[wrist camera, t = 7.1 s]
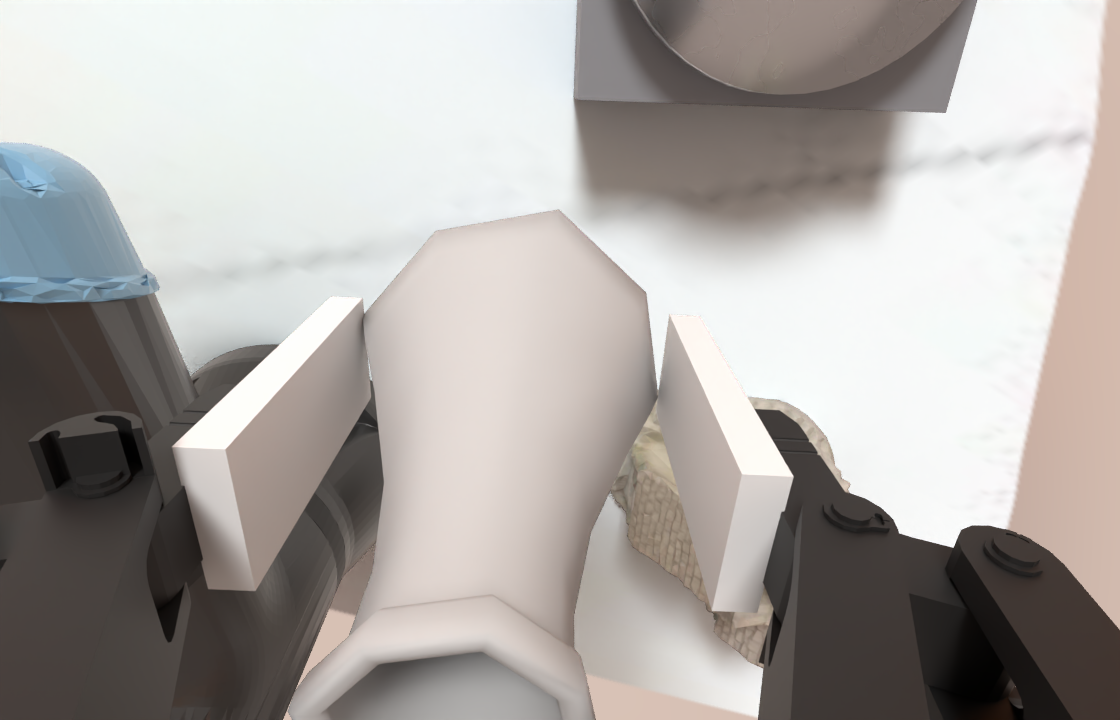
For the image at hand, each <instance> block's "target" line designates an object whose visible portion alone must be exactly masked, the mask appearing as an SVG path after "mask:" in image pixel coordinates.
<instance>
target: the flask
mask: <svg viewBox="0 0 1120 720" xmlns="http://www.w3.org/2000/svg"><path fill="white" fill-rule="evenodd" d="M363 326H364V335H365V341H366V347H367V352H368V358H369V363H370V369H371V375H372V380H373V386H374V392H375V401H376V411H377V420H378V430H379V439H380V449H381V458H382V468H383V477H384V487H383V495H382V502H381V510H380V517H379V525H378V533H377V540H376V548H375V556H374V563H373V570H372V573H371V576H370V578H369V581H368V584H367V587H366V590H365V592H364V595H363V598H362V601H361V603H360V606H359V609H358V612H357V614H356V617H355V620H354V623H353V626H352V629H351V631H350V634H349V636H348V638H347V639H345V640H344V641H343V642H342V643H341V644H340V645H339V646H337V648H335V649H334V650H333V651H332V652H331V653H330V654H328V655H327V656H326V657H325V658H324V659H323V660H322V661H321V662H320V663H318V664H317V665H316V666H315V667H314V668H313V669H312V670H311V671H309V673H308V674H307V675H306V677H305V678H304V680H303V681H302V682H301V684H300V685H299V686H298V688H297V689H296V690H295V692H294V695H293V698H292V701H291V704H290V706H289V709H288V713H289V715H290V717H291V718H292V720H596V719H595V714H594V710H593V705H592V701H591V696H590V692H589V687H588V683H587V678H586V674H585V671H584V667H583V664H582V660H581V657H580V655H579V654H578V653H577V652H576V650H575V649H574V613H575V608H576V603H577V598H578V593H579V588H580V583H581V578H582V573H583V568H584V564H585V559H586V554H587V549H588V544H589V539H590V534H591V531H592V529H593V527H594V525H595V522H596V520H597V518H598V516H599V514H600V512H601V510H602V507H603V505H604V503H605V501H606V499H607V497H608V495H609V492H610V490H611V488H612V486H613V484H614V482H615V480H616V477H617V475H618V473H619V471H620V469H621V467H622V465H623V462H624V460H625V458H626V456H627V454H628V453H629V451H630V449H631V447H632V445H633V444H634V442H635V440H636V438H637V437H638V435H639V433H640V431H641V429H642V428H643V426H644V424H645V422H646V420H647V419H648V417H649V415H650V413H651V411H652V409H653V407H654V405H655V403H656V401H657V399H658V390H657V381H656V373H655V364H654V355H653V347H652V338H651V330H650V321H649V313H648V304H647V296H646V292H645V291H644V290H643V289H642V288H641V287H640V286H639V285H637V284H636V283H635V282H634V281H633V280H632V279H631V278H630V277H629V276H628V275H627V274H626V273H625V272H624V271H623V270H622V269H621V268H620V267H619V266H618V265H617V264H616V263H614V262H613V261H612V260H611V259H610V258H609V257H608V256H607V255H606V254H605V253H604V252H603V251H602V250H601V249H600V248H599V247H598V246H597V245H596V244H595V243H594V242H593V241H591V240H590V239H589V238H588V237H587V236H586V235H585V234H584V233H583V232H582V231H581V230H580V229H579V228H578V227H577V226H576V225H575V224H574V223H573V222H572V221H571V220H570V219H568V218H567V217H566V216H565V215H564V214H563V213H562V212H561V211H560V210H553V211H548V212H542V213H536V214H530V215H524V216H519V217H513V218H507V219H501V220H496V221H490V222H484V223H478V224H473V225H467V226H461V227H455V228H450V229H444V230H438V231H435V232H434V233H433V235H432V236H431V237H430V238H429V239H428V240H427V242H426V243H425V244H424V245H423V246H422V247H421V249H420V250H419V251H418V252H417V253H416V254H415V256H414V257H413V258H412V259H411V260H410V261H409V263H408V264H407V265H406V266H405V267H404V268H403V270H402V271H401V272H400V273H399V274H398V275H397V276H396V278H395V279H394V280H393V281H392V282H391V283H390V285H389V286H388V287H387V288H386V289H385V290H384V292H383V293H382V294H381V295H380V296H379V297H378V299H377V300H376V301H375V302H374V303H373V304H372V306H371V307H370V308H369V309H368V310H367V311H366V313H365V314H364V317H363Z"/></svg>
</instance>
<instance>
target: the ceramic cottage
mask: <svg viewBox="0 0 1120 720" xmlns="http://www.w3.org/2000/svg"><path fill="white" fill-rule="evenodd" d="M658 392H659V390H658ZM748 399H749V401H750V403H751V404H752V406H753V408H754V409H766V410H780V411H781V412H783V413H784V414H786V415H787V416H788V417H790V418H791V419H793V420H794V421H795V422H797V423H798V424H799V425H800V427H801V428H802V430H803V431H804V432H805V434H806V435H807V437H808V438H809V442H811V443H812V444H813V446H814V447H815V448H816V450H817V451H818V455H820V456H821V457H822V459H823V460H824V462H825V463H826V465H827V466H828V467H829V469H830V470H831V472H832V473H833V475H834V476H835V478H836V479H837V481H838V482H839V484H840V485H841V486H842V488H843V489H844V491H845V492H847V493H849V491H848V488H849V487H850V483H849V482H847V481H845V480H844V479H842V477H841V471H840V470H839V469H837V468H836V466H835V462H834V456H833V452H832V449H831V447H830V444H829V442H828V440H827V437H826V436H825V435H824V433H823V432H822V431H821V430H820V428H819V427H818V426H817V425H816V424H815V423H814V421H813V420H811V419H810V418H809V417H808V416H807V415H806V414H804V413H803V412H802V411H800V410H799V409H798V408H796V407H794V406H792V405H790V404H788V403H785V402H781V401H780V400H774V399H763V398H755V397H748ZM656 406H657V401H656V403H655V405H654V407H653V409H652V411H651V413H650V415H649V417H648V419H647V420H646V422H645V424H644V426H643V428H642V429H641V431H640V433H639V435H638V437H637V438H636V440H635V442H634V444H633V445H632V447H631V449H630V451H629V453H628V454H627V456H626V458H625V460H624V462H623V465H622V467H621V469H620V471H619V473H618V475H617V477H616V480H615V482H614V484H613V486H612V488H611V492H612V494H613V496H614V498H615V499H616V501H617V502H618V503H619V504H621V506H622V507H623V509H624V511H626V523H627V524H628V525H629V529H628V535H627V536H628V538H629V540H630V542H631V544H632V546H633V548H635V549H636V550H638V551H639V552H640V553H643V554H645V555H646V556H648V557H649V558H650V559H652V560H653V561H655V562H656V563H658V564H660V565H661V566H662V567H663V568H664V569H665V570H666V571H668V572H669V573H670V574H672V575H674V576H676V577H678V578H679V579H680V580H681V581H682V582H683V585H684V586H685V587H687V588H688V589H690V590H691V591H692V592H693V593H694V594H695V595H696V597H697V598H698V599H699V600H701V601H703V602H705V605H706V609H707V610H708V611H709V612H712V613H713V614H714V619H715V620H716V622H715V625H714V632H715V633H716V634H717V635H718V636H719V637H720V638H721V639H722V640H723V641H725V642H726V643H727V644H729V645H730V646H731V647H732V648H734V649H735V650H736V651H738V652H739V653H740V654H741V655H742V656H743V657H745V659H746V660H747V661H748V662H750V663H752V664H755V665H757V666H759V667H761V668H764V664H761V663H759V659H760V655H761V651H762V648H763V644H764V641H765V637H766V634H767V630H768V627H769V623H770V619H771V616H772V612H773V606H772V604H771V601H770V599H769V596H768V594H767V591H766V589H765V586H764V590H763V594H762V597H761V601H760V605H759V609H758V612H757V613H748V612H725V611H712V610H711V607H710V603H709V599H708V596H707V592H706V589H705V585H704V582H703V578H702V574H701V571H700V567H699V564H698V560H697V557H696V553H695V550H694V546H693V542H692V539H691V535H690V532H689V528H688V525H687V521H686V517H685V514H684V510H683V507H682V503H681V500H680V496H679V493H678V489H677V485H676V482H675V478H674V475H673V471H672V468H671V464H670V460H669V457H668V453H667V450H666V446H665V443H664V439H663V436H662V432H661V428H660V425H659V421H658V418H657V414H656Z"/></svg>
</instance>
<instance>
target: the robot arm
mask: <svg viewBox="0 0 1120 720" xmlns="http://www.w3.org/2000/svg"><path fill="white" fill-rule="evenodd" d="M159 288H160V287H159V285H158V282H157V280H156V277H155V275H153V274H152V273H151V272H149V271H148V270H147V269H145V268H144V267H143V265H142V263H141V261H140V259H139V257H138V255H137V253H136V251H135V249H134V247H133V245H132V243H131V241H130V239H129V237H128V235H127V233H126V231H125V229H124V227H123V225H122V223H121V221H120V219H119V217H118V215H117V213H116V211H115V209H114V207H113V205H112V203H111V201H110V199H109V196H108V194H107V192H106V191H105V189H104V188H103V186H102V185H101V184H100V182H99V181H98V180H97V179H96V178H95V176H94V175H93V174H92V173H91V172H90V171H88V170H87V169H86V168H85V167H83V166H82V165H81V164H79V163H78V162H76V161H74V160H73V159H71V158H69V157H68V156H66V155H64V154H61V153H59V152H57V151H54V150H52V149H49V148H45V147H42V146H38V145H33V144H26V143H9V142H0V720H283V718H284V716H285V713H286V711H287V709H288V706H289V704H290V701H291V699H292V697H293V694H294V692H295V689H296V687H297V685H298V682H299V680H300V677H301V675H302V673H303V670H304V668H305V665H306V663H307V661H308V658H309V656H310V653H311V651H312V648H313V646H314V644H315V641H316V639H317V636H318V634H319V632H320V629H321V627H322V624H323V622H324V619H325V617H326V615H327V612H328V610H329V608H330V605H331V603H332V600H333V598H334V595H335V593H336V590H337V588H338V586H339V583H340V581H341V579H342V577H343V576H344V575H345V574H346V573H347V572H348V571H349V570H350V569H351V568H352V567H353V566H354V565H355V564H356V563H357V562H358V561H359V560H360V559H361V557H362V556H363V555H364V554H365V553H366V552H367V551H368V550H369V549H370V548H371V547H372V546H373V544H375V543H376V540H377V533H378V525H379V517H380V510H381V502H382V495H383V487H384V477H383V468H382V458H381V449H380V439H379V430H378V420H377V411H376V401H375V392H374V386H373V382H372V381H371V380H370V377H369V366H368V354H367V347H366V341H365V335H364V326H363V317H364V309H363V298H352V297H333V296H331V297H330V298H329V299H328V300H327V301H326V302H325V303H323V304H322V305H321V306H320V307H319V308H318V309H317V310H316V311H315V312H314V313H313V314H312V315H311V316H310V317H309V318H308V319H307V320H305V321H304V322H303V323H302V324H301V325H300V326H299V327H298V328H297V329H296V330H295V331H294V332H293V333H292V334H291V335H290V336H289V337H287V338H286V339H285V340H284V341H283V342H282V343H281V344H280V345H256V346H250V347H245V348H240V349H237V350H233V351H230V352H228V353H225V354H223V355H221V356H219V357H217V358H215V359H213V360H211V361H210V362H208V363H207V364H205V365H204V366H203V367H201V368H200V369H199V370H198V371H196V372H195V373H194V374H193V375H192V376H190V374H189V372H188V370H187V367H186V365H185V363H184V361H183V358H182V356H181V354H180V351H179V349H178V347H177V344H176V342H175V340H174V337H173V335H172V333H171V330H170V328H169V326H168V323H167V321H166V319H165V316H164V314H163V312H162V309H161V307H160V305H159V302H158V300H157V298H156V295H155V293H154V292H156V291H157V290H159ZM656 414H657V418H658V421H659V425H660V428H661V432H662V436H663V439H664V443H665V446H666V450H667V453H668V457H669V460H670V464H671V468H672V471H673V475H674V478H675V482H676V485H677V489H678V493H679V496H680V500H681V503H682V507H683V510H684V514H685V517H686V521H687V525H688V528H689V532H690V535H691V539H692V542H693V546H694V550H695V553H696V557H697V560H698V564H699V567H700V571H701V574H702V578H703V582H704V585H705V589H706V592H707V596H708V599H709V603H710V607H711V610H712V611H725V612H748V613H757V612H758V609H759V605H760V601H761V597H762V594H763V590H764V586H765V589H766V591H767V594H768V596H769V599H770V601H771V604H772V606H773V612H772V616H771V619H770V623H769V627H768V630H767V634H766V637H765V641H764V644H763V648H762V651H761V655H760V659H759V663H761V664H764V669H763V678H762V687H761V696H760V706H759V715H758V720H1120V630H1119V629H1118V627H1117V626H1116V625H1115V624H1114V623H1113V622H1112V620H1111V619H1110V618H1109V617H1108V616H1107V615H1106V613H1105V612H1104V611H1103V610H1102V609H1101V607H1100V606H1099V605H1098V604H1097V603H1096V602H1095V601H1094V599H1093V598H1092V597H1091V596H1090V595H1089V593H1088V592H1087V591H1086V590H1085V589H1084V587H1083V586H1082V585H1081V584H1080V583H1079V582H1078V580H1077V579H1076V578H1075V577H1074V576H1073V575H1072V573H1071V572H1070V571H1069V570H1068V569H1067V567H1065V565H1064V564H1063V563H1061V561H1060V560H1059V559H1057V558H1056V557H1055V556H1054V555H1053V554H1052V553H1051V552H1050V551H1048V550H1047V549H1045V548H1044V547H1042V546H1040V545H1039V544H1037V543H1035V542H1034V541H1032V540H1031V539H1029V538H1027V537H1025V536H1023V535H1019V534H1017V533H1016V532H1013V531H1010V530H1006V529H1001V528H996V527H992V526H970V527H967V528H965V529H963V530H961V532H960V534H959V536H958V539H957V541H956V543H955V546H954V548H951V547H948V546H944V545H940V544H936V543H932V542H928V541H924V540H920V539H916V538H912V537H909V536H905V535H902V534H899V532H898V529H897V527H896V525H895V523H894V520H893V519H892V518H891V517H890V516H889V515H888V514H887V513H886V512H885V511H884V510H883V509H882V508H880V507H879V506H877V505H875V504H873V503H872V502H870V501H868V500H867V499H865V498H862V497H859V496H856V495H853V494H851V493H847V492H845V491H844V489H843V488H842V486H841V485H840V484H839V482H838V481H837V479H836V478H835V476H834V475H833V473H832V472H831V470H830V469H829V467H828V466H827V465H826V463H825V462H824V460H823V459H822V457H821V456H820V455H818V451H817V450H816V448H815V447H814V446H813V444H812V443H811V442H809V438H808V437H807V435H806V434H805V432H804V431H803V430H802V428H801V427H800V425H799V424H798V423H797V422H795V421H794V420H793V419H791V418H790V417H788V416H787V415H786V414H784V413H783V412H781V411H780V410H766V409H754V408H753V406H752V404H751V403H750V401H749V399H748V397H747V396H746V394H745V392H744V391H743V389H742V387H741V385H740V384H739V382H738V380H737V378H736V377H735V375H734V373H733V372H732V370H731V368H730V366H729V365H728V363H727V361H726V360H725V358H724V356H723V354H722V353H721V351H720V349H719V348H718V346H717V344H716V342H715V341H714V339H713V337H712V335H711V334H710V332H709V330H708V329H707V327H706V325H705V323H704V322H703V320H702V318H701V317H700V316H689V315H670V314H669V321H668V328H667V335H666V342H665V349H664V357H663V364H662V371H661V378H660V385H659V392H658V399H657V406H656ZM1015 686H1016V687H1015Z"/></svg>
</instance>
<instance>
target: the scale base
mask: <svg viewBox="0 0 1120 720" xmlns="http://www.w3.org/2000/svg"><path fill="white" fill-rule="evenodd" d="M976 3H977V0H963V1H962V2H961V3H960V4H959V6H958V7H957V8H956V9H955V10H954V11H953V13H952V14H951V15H950V16H949V17H948V18H947V19H946V20H945V21H944V22H943V23H942V24H941V25H940V26H939V27H938V28H936V29H935V30H934V31H933V32H932V33H931V34H930V35H929V36H928V37H927V38H926V39H924V40H923V41H922V42H920V43H919V44H918V45H917V46H915V47H914V48H913V49H911V50H910V51H909V52H908V53H906V54H905V55H904V56H902V57H900V58H899V59H897V60H895V61H894V62H892V63H890V64H889V65H887V66H885V67H884V68H882V69H881V70H879V71H877V72H874V73H872V74H870V75H868V76H866V77H863V78H861V79H859V80H857V81H855V82H852V83H848V84H845V85H842V86H839V87H836V88H833V89H829V90H823V91H818V92H812V93H806V94H784V95H778V94H767V93H757V92H749V91H745V90H741V89H737V88H733V87H730V86H726V85H724V84H721V83H719V82H717V81H715V80H712V79H710V78H708V77H705V76H704V75H702V74H700V73H699V72H697V71H696V70H694V69H692V68H691V67H689V66H688V65H686V64H685V63H683V62H682V61H681V60H680V59H679V58H677V57H676V56H675V55H674V54H673V53H672V52H670V51H669V50H668V49H667V48H666V47H665V46H664V45H663V44H662V43H661V41H660V40H659V39H658V38H657V37H656V36H655V35H654V33H653V32H652V31H651V30H650V29H649V27H648V26H647V24H646V23H645V21H644V20H643V18H642V17H641V15H640V14H639V12H638V11H637V9H636V8H635V6H634V4H633V2H632V0H577V21H576V46H575V72H574V98H576V99H577V100H598V101H626V102H654V103H683V104H711V105H739V106H767V107H795V108H824V109H852V110H880V111H908V112H936V113H946V110H947V106H948V103H949V99H950V96H951V92H952V89H953V85H954V81H955V78H956V74H957V71H958V67H959V64H960V60H961V56H962V53H963V49H964V46H965V42H966V39H967V35H968V31H969V28H970V24H971V21H972V17H973V14H974V10H975V6H976Z"/></svg>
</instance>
